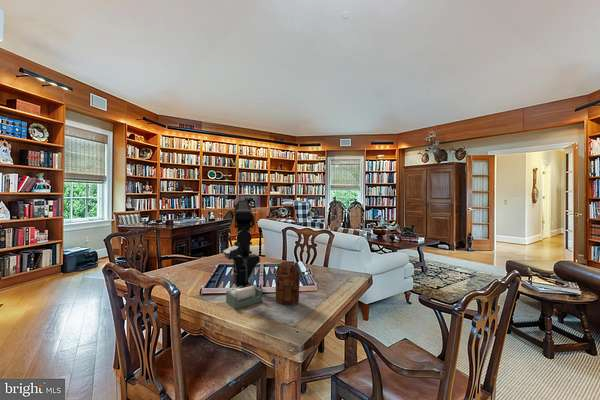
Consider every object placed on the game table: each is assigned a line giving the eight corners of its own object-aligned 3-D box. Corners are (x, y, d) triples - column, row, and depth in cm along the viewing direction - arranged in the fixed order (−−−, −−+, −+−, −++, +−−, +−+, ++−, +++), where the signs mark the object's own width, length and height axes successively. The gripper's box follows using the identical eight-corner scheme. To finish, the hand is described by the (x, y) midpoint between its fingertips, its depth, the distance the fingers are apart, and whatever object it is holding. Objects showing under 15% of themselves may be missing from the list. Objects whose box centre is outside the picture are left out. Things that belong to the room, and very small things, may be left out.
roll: (250, 295, 131) (249, 284, 131) (255, 298, 127) (255, 287, 127) (231, 300, 125) (231, 289, 125) (236, 303, 121) (236, 291, 121)
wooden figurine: (271, 302, 126) (272, 262, 124) (276, 297, 132) (277, 258, 130) (296, 307, 122) (298, 265, 121) (301, 301, 128) (302, 261, 127)
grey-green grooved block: (252, 295, 133) (252, 284, 133) (261, 301, 127) (261, 290, 127) (226, 302, 125) (226, 291, 124) (234, 309, 119) (234, 297, 118)
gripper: (216, 237, 126) (216, 272, 127) (236, 246, 112) (236, 285, 113) (239, 235, 134) (239, 268, 135) (261, 242, 119) (260, 279, 120)
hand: (242, 274), depth 125 cm, fingers open, 9 cm apart
